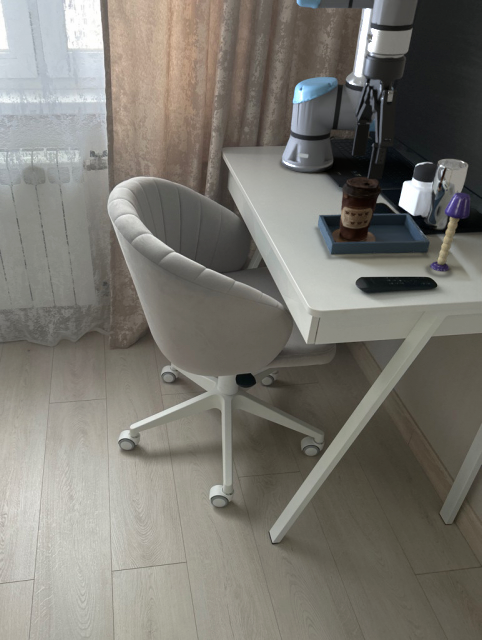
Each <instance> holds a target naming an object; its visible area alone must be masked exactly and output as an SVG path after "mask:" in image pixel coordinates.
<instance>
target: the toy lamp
mask: <svg viewBox="0 0 482 640" xmlns="http://www.w3.org/2000/svg"><path fill="white" fill-rule="evenodd" d="M470 211H471V195H470V194H468V193H466V192H461V193H455V194H454V196H453V197H452V199H451V201H450V202H449V204H448V206H447V207H446V209H445V214H446V215H447V216H449V217H450V222H449V223H448V229H447V230H445V233H444V234H445V235H444V236H443V240H442V244H441V246H440V251H439V253H438V254H439V256H438V257H437V260H436V261H433V262H432V263H430V265H429V266H430V268H431V270H434V271H436V272H441V273H442V272H447V271H449V270H450V267H449V265H448V264H447V263H446V262H447V260H448V258H447V257H448V256H449V253H450V249H451V247H452V243H453V241H454V236H455V234H456V229H457V228H458V222H459V221H460V220H461V219H463V220H464V219H467V218H469V216H470Z"/></svg>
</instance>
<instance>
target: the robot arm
mask: <svg viewBox="0 0 482 640" xmlns="http://www.w3.org/2000/svg"><path fill="white" fill-rule="evenodd" d="M296 4H297V5H298V6H299V7H302V8H312V9H361V15H360V22H359V29H358V35H357V42H356V48H355V55H354V63H353V67H352V71H351V73H349V74H348V75H347V76H346V77H345V83H344V84H339V81H338V78H336V77H334V76H331V77H330V76H318V77H317V76H316V77H311V78H308V79H304V80H302V81H300V82H298V83H297V84H296V86H295V88H294V94H293V99H292V114H291V123H290V133H289V134H290V135H289V139H288V141H287V143H286V146H285V149H284V150H283V153H282V157H281V165H282V166H283V167H284V168H286V169H289V170H290V171H294V172H298V173H311V174H313V173H321V172H325V171H328V170H330V169H331V168H332V167H333V164H334V154H333V149H332V144H331V133H332V130H334V131H350V132H354V131H355V133H354V139H353V144H352V151H351V156H353V157H363V156H366V152H367V151H366V150H367V144H368V139H369V134H370V132H374V137H375V141H374V142H373V143H372V145H371V147H372V151H371V155H370V162H369V167H368V171H367V172H368V173H367V176H366V177H367V178H368V179H376V180H382V179H383V174H384V169H385V164H386V158H387V153H388V149H389V148H391V147H393V146H394V139H395V121H396V104H397V99H398V89H394V87H393V82H394V81H397V80H400V79H401V78H402V77H403V75H404V71H405V66H406V61H407V57H406V55H407V53H408V52H409V50H410V49H409V48H410V43H411V37H412V33H413V24H414V19H415V15H416V9H417V5H418V0H296Z"/></svg>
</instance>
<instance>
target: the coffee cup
mask: <svg viewBox="0 0 482 640" xmlns="http://www.w3.org/2000/svg"><path fill="white" fill-rule="evenodd" d="M367 177H368V176H358V177H356V176H355V177H353V178H349V179H347V180H346V183H344V184H343V186H342V189H341V190H342V195H341V196H342V197H341V207H340V215H341V219H340V233H339V236H340V237H341V238H342V239H344V240H347V241H351V242H360V241H364V240H366V239H367V236H368V234H367V233H368V228H369V227H370V222H371V219H372V217H373V214H375V211H376V207H377V202H378V199H379V196H380V195H381V193H382V187H381V186H380V184H381V183H380V180H379V179H368V178H367Z"/></svg>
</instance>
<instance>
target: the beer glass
mask: <svg viewBox="0 0 482 640" xmlns="http://www.w3.org/2000/svg"><path fill="white" fill-rule="evenodd" d="M436 164H437V167H436V170H435V173H434V176H433V180H432V184H431V191H430V203H429V209H428V213H427V215H426V217H424V219H423V221H424V222H425V224H426V225H428V226H429V227H430V228H431V229H432V230H433V231H438V232H442V231H446V230H447V229H448V223H449V222H450V217H449V216H447V215H446V214H445V209H446V207H447V206H448V204H449V202H450V201H451V199H452V197H453V196H454V194H455V193H462V191H463V188H464V185H465V182H466V178H467V172H468V168H469V164H468V163H467V162H465V161H463V160H461V159H457V158H456V159H455V158H444V159H440V160H438V161H437V163H436Z"/></svg>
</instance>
